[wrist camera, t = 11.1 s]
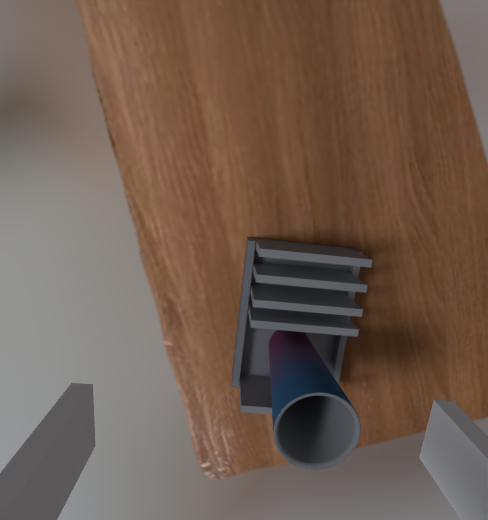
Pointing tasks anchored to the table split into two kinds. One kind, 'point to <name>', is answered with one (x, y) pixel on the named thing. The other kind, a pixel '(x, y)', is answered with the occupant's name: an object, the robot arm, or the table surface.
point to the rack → (293, 308)
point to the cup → (308, 405)
